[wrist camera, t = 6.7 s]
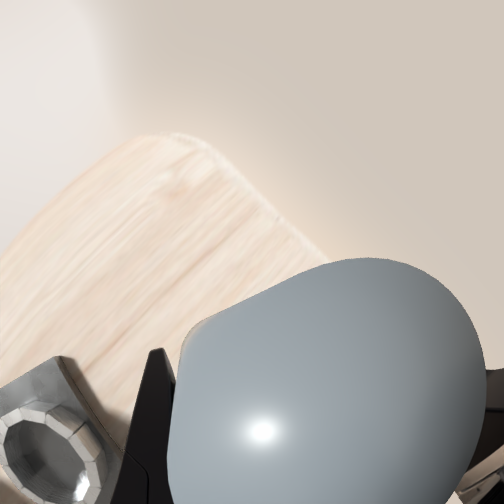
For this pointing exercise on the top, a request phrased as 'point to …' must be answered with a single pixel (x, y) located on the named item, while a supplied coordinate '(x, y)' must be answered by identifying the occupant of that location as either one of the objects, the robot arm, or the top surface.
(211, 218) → the top surface
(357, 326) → the grey rounded cylinder
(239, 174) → the top surface
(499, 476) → the robot arm
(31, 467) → the duct plate
